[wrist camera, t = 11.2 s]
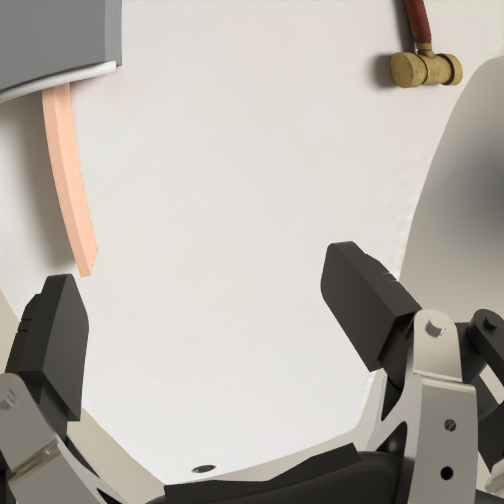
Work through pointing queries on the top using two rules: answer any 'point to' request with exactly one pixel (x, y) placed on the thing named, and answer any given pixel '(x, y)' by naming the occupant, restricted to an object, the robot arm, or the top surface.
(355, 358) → the top surface
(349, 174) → the top surface
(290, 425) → the top surface
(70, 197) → the ticket strip
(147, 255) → the top surface
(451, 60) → the gavel
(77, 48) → the dispenser
